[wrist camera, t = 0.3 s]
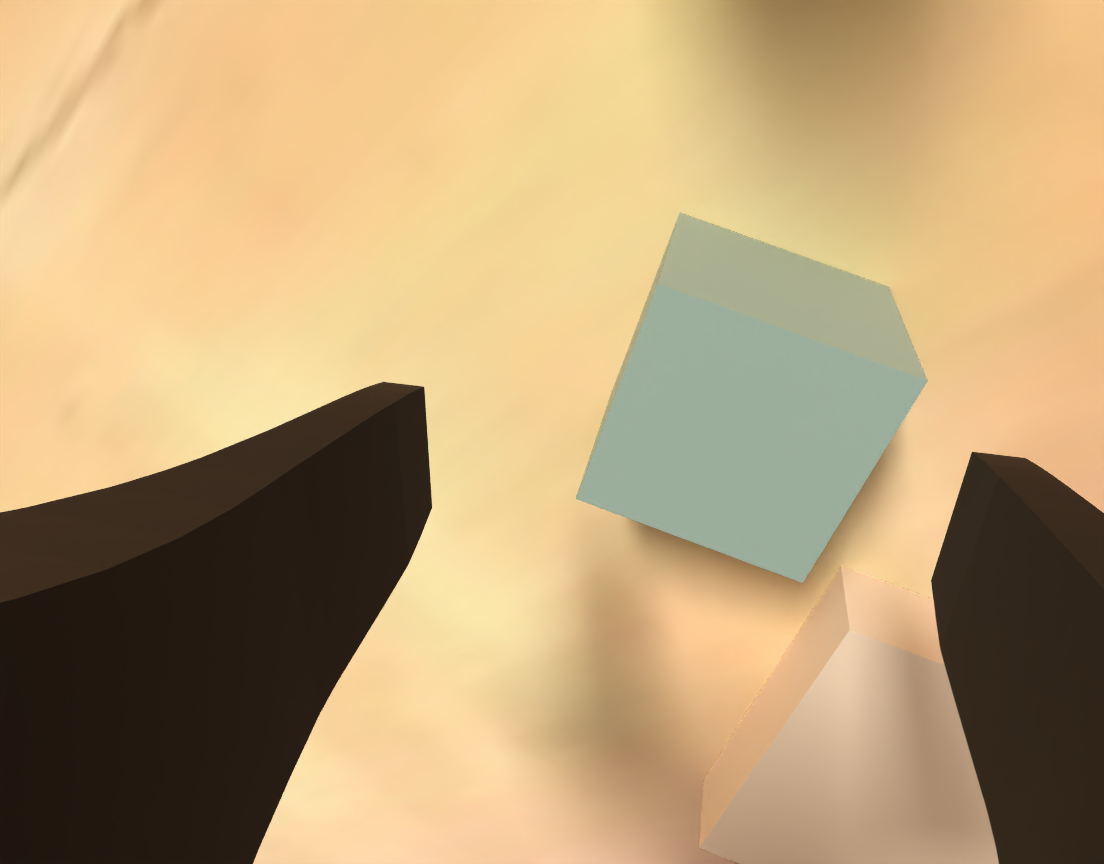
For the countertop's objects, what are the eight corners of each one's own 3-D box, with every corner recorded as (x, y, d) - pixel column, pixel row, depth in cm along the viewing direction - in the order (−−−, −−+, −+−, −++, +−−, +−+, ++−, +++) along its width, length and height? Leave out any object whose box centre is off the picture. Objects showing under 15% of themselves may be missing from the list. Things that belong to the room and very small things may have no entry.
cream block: (1188, 684, 22) (1243, 777, 20) (985, 875, 28) (1008, 967, 25) (839, 555, 23) (849, 630, 20) (704, 768, 28) (699, 848, 25)
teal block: (888, 285, 19) (927, 380, 14) (793, 459, 21) (803, 582, 17) (680, 211, 19) (658, 283, 15) (611, 392, 21) (575, 499, 17)
